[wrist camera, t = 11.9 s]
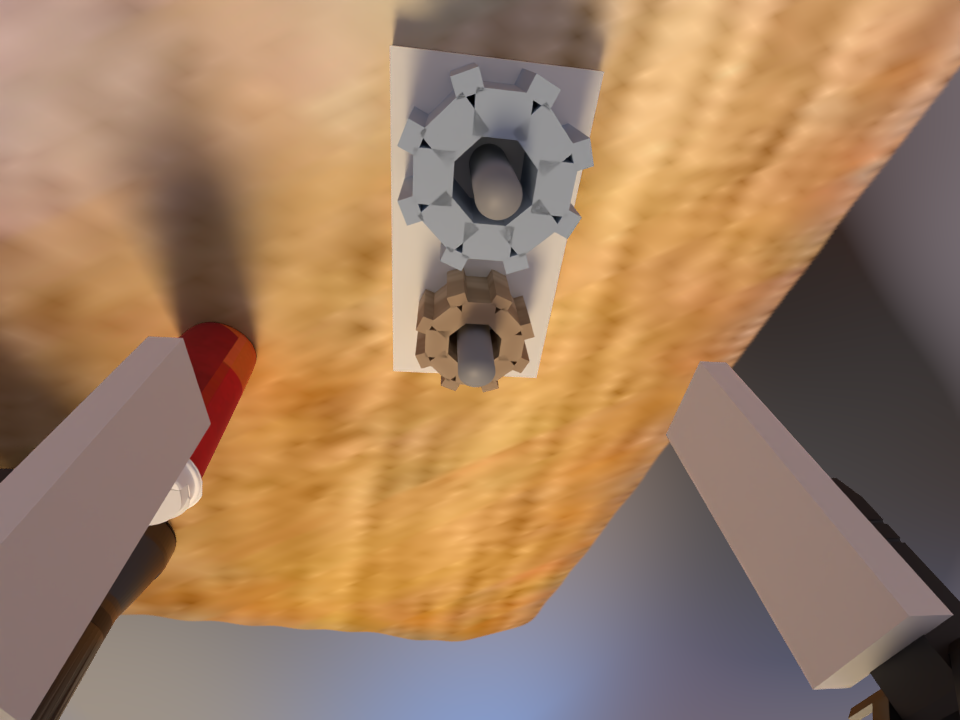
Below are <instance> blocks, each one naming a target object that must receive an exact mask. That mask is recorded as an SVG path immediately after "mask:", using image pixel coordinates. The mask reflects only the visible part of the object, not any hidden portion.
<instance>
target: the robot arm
mask: <svg viewBox="0 0 960 720" xmlns="http://www.w3.org/2000/svg"><path fill="white" fill-rule="evenodd" d="M210 424H211V423H210V420H209V416H208V413H207V410H206V407H205V404H204V401H203V398H202V395H201V392H200V389H199V386H198V383H197V380H196V376H195V373H194V370H193V367H192V364H191V361H190V358H189V355H188V352H187V349H186V346H185V343H184V340H183V338H170V337H147V338H146V339H145V340H144V341H143V342H142V343H141V344H140V345H139V346H138V347H137V348H136V349H135V350H134V351H133V352H132V353H131V354H130V355H129V356H128V357H127V358H126V359H125V360H124V361H123V362H122V363H121V364H120V365H119V366H118V367H117V368H116V369H115V370H114V371H113V372H112V373H111V374H110V375H109V376H108V377H107V378H106V379H105V380H104V381H103V382H102V383H101V384H100V385H99V386H98V387H97V388H96V389H95V390H94V391H93V392H92V393H91V394H90V395H89V396H88V397H87V398H86V399H85V400H84V401H83V402H82V403H81V404H80V405H79V406H78V407H77V408H76V409H75V410H74V411H73V412H72V413H71V414H70V415H69V416H68V417H67V418H65V419H64V420H63V421H62V422H61V423H60V424H59V425H58V426H57V427H56V428H55V429H54V430H53V431H52V432H51V433H50V434H49V435H48V436H47V437H46V438H45V439H44V440H43V441H42V442H41V443H40V444H39V445H38V446H37V447H36V448H35V449H34V450H33V451H32V452H31V453H30V454H29V455H28V456H27V457H26V458H25V459H24V460H23V461H22V462H21V463H20V464H19V465H18V466H17V467H16V468H15V469H0V720H59V719H60V717H61V715H62V713H63V711H64V709H65V708H66V706H67V704H68V703H69V701H70V699H71V697H72V696H73V694H74V692H75V690H76V689H77V687H78V685H79V683H80V681H81V680H82V678H83V676H84V674H85V672H86V671H87V669H88V667H89V666H90V664H91V662H92V660H93V658H94V657H95V654H96V653H97V651H98V649H99V648H100V646H101V644H102V642H103V641H104V639H105V637H106V635H107V634H108V632H109V630H110V629H111V626H112V625H113V623H114V622H115V620H116V619H117V618H118V617H119V616H120V615H121V614H122V613H123V612H124V611H125V610H126V609H127V607H128V606H129V605H130V604H131V603H132V602H133V601H134V600H135V599H136V598H137V597H138V596H139V595H140V594H141V593H142V592H143V591H144V590H145V589H146V588H147V587H148V586H149V585H150V583H151V582H152V581H153V580H154V579H156V578H157V577H158V576H159V575H160V574H161V573H162V571H163V570H164V569H165V567H166V565H167V563H168V561H169V560H170V558H171V556H172V554H173V552H174V550H175V545H176V542H175V537H174V535H173V533H172V531H171V529H170V528H169V527H168V525H167V524H166V523H165V522H163V523H160V524H156V525H149V524H150V523H151V521H152V519H153V518H154V516H155V514H156V513H157V511H158V510H159V508H160V506H161V505H162V503H163V501H164V500H165V498H166V496H167V495H168V493H169V492H170V490H171V488H172V487H173V485H174V483H175V482H176V480H177V478H178V477H179V475H180V474H181V472H182V470H183V469H184V467H185V465H186V464H187V462H188V460H189V459H190V457H191V455H192V454H193V452H194V451H195V449H196V447H197V446H198V444H199V442H200V441H201V439H202V437H203V436H204V434H205V433H206V431H207V429H208V428H209V426H210ZM666 436H667V438H668V439H669V441H670V443H671V444H672V446H673V448H674V450H675V451H676V453H677V455H678V457H679V458H680V460H681V462H682V464H683V465H684V467H685V469H686V471H687V472H688V474H689V476H690V477H691V479H692V481H693V482H694V484H695V486H696V488H697V490H698V491H699V493H700V495H701V496H702V498H703V500H704V502H705V503H706V505H707V507H708V508H709V510H710V512H711V513H712V515H713V517H714V519H715V521H716V522H717V524H718V526H719V527H720V529H721V531H722V532H723V534H724V536H725V538H726V540H727V541H728V543H729V545H730V546H731V548H732V550H733V552H734V553H735V555H736V557H737V559H738V561H739V562H740V564H741V566H742V567H743V569H744V571H745V573H746V574H747V576H748V578H749V579H750V581H751V583H752V585H753V586H754V588H755V590H756V592H757V593H758V595H759V597H760V598H761V600H762V602H763V603H764V605H765V607H766V609H767V610H768V612H769V614H770V616H771V617H772V619H773V621H774V623H775V625H776V626H777V628H778V630H779V631H780V633H781V635H782V636H783V638H784V640H785V642H786V643H787V645H788V647H789V649H790V650H791V652H792V654H793V656H794V657H795V659H796V661H797V663H798V664H799V666H800V668H801V670H802V671H803V673H804V675H805V676H806V678H807V680H808V682H809V683H810V685H811V687H812V689H813V690H814V689H834V688H835V689H836V688H851V687H852V686H853V685H855V684H856V683H858V682H859V681H860V680H862V679H863V678H865V677H866V676H868V675H869V674H870V673H871V675H872V676H873V678H874V679H875V681H876V682H877V684H878V685H879V686H880V688H881V689H880V690H879V691H877V692H876V693H874V694H873V695H871V696H869V697H868V698H867V699H865V700H863V701H862V702H861V703H859V704H857V705H856V706H854V707H853V708H851V711H850V714H849V718H848V719H850V720H861V719H862V718H864V717H866V716H867V715H869V714H870V713H872V712H873V720H960V601H959V600H958V599H957V598H956V597H955V596H954V595H953V594H952V593H951V592H950V591H949V590H948V588H947V587H946V586H945V585H944V584H943V583H942V582H941V581H940V580H939V579H938V578H937V577H936V576H935V575H934V573H933V572H932V571H931V570H930V569H929V568H928V567H927V566H926V565H925V564H924V563H923V562H922V561H921V560H920V559H919V557H918V556H917V555H916V554H915V553H914V552H913V551H912V550H911V549H910V548H909V547H908V546H907V545H906V543H902V542H901V541H900V537H899V536H898V535H897V534H896V533H895V532H894V531H893V530H892V529H891V527H890V526H889V525H887V524H884V523H883V519H882V518H881V517H880V516H879V515H878V513H877V512H876V511H875V510H874V509H873V508H872V507H871V506H870V505H869V504H868V503H867V502H866V501H865V500H864V499H863V497H861V496H860V495H859V494H857V493H855V492H854V491H853V490H852V489H850V488H849V487H848V486H846V485H845V484H844V483H842V482H841V481H839V480H838V479H837V478H830V477H829V476H828V475H827V474H826V473H825V472H824V471H823V470H822V468H821V467H820V466H819V465H818V464H817V463H816V462H815V461H814V459H813V458H812V457H811V456H810V455H809V454H808V453H807V452H806V451H805V449H804V448H803V447H802V446H801V445H800V444H799V443H798V442H797V441H796V439H795V438H794V437H793V436H792V435H791V434H790V433H789V432H788V431H787V429H786V428H785V427H784V426H783V425H782V424H781V423H780V422H779V421H778V420H777V418H776V417H775V416H774V415H773V414H772V413H771V412H770V411H769V410H768V408H767V407H766V406H765V405H764V404H763V403H762V402H761V401H760V399H759V398H758V397H757V396H756V395H755V394H754V393H753V392H752V391H751V389H750V388H749V387H748V386H747V385H746V384H745V383H744V382H743V381H742V380H741V378H740V377H739V376H738V375H737V374H736V373H735V372H734V371H733V369H732V368H731V367H730V366H729V365H728V364H727V363H724V362H701V361H700V363H699V365H698V367H697V369H696V371H695V373H694V376H693V378H692V380H691V382H690V384H689V386H688V389H687V391H686V393H685V395H684V397H683V399H682V401H681V404H680V406H679V408H678V410H677V412H676V414H675V416H674V419H673V421H672V423H671V425H670V427H669V429H668V431H667V434H666Z"/></svg>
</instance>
